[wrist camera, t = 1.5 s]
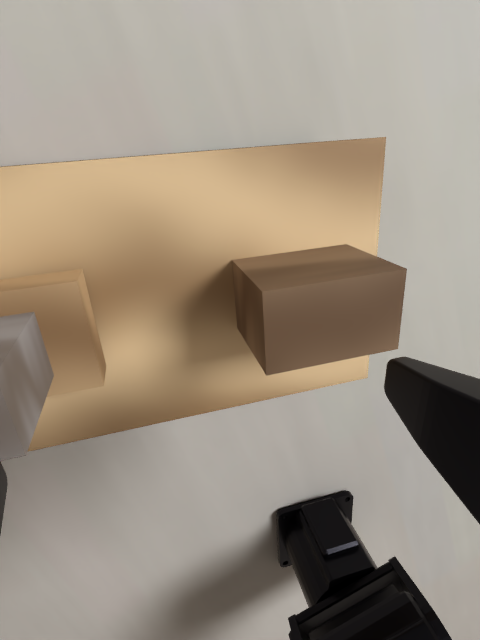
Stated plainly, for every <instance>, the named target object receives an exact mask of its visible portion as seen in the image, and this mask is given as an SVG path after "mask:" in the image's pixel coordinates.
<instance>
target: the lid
mask: <svg viewBox="0 0 480 640" xmlns="http://www.w3.org/2000/svg"><path fill="white" fill-rule="evenodd" d="M385 144H386V137H381V138H367V139H354V140H342V141H329V142H316V143H303V144H290V145H277V146H264V147H252V148H239V149H226V150H213V151H200V152H187V153H174V154H162V155H149V156H136V157H123V158H110V159H97V160H84V161H72V162H59V163H46V164H33V165H20V166H7V167H0V280H3V279H10V278H18V277H25V276H33V275H40V274H48V273H56V272H63V271H71V270H78V269H83V273H84V277H85V281H86V285H87V289H88V294H89V298H90V302H91V306H92V310H93V314H94V318H95V322H96V326H97V330H98V334H99V338H100V342H101V346H102V350H103V354H104V358H105V362H106V373H105V381H104V386H101V387H96V388H91V389H86V390H81V391H76V392H70V393H65V394H60V395H55V396H50V397H46V400H45V403H44V406H43V408H42V411H41V414H40V417H39V420H38V423H37V426H36V428H35V431H34V434H33V437H32V440H31V443H30V445H29V448H28V451H33V450H37V449H42V448H47V447H51V446H56V445H60V444H65V443H70V442H74V441H79V440H83V439H88V438H93V437H97V436H102V435H106V434H111V433H116V432H120V431H125V430H129V429H134V428H139V427H143V426H148V425H152V424H157V423H161V422H166V421H171V420H175V419H180V418H184V417H189V416H194V415H198V414H203V413H207V412H212V411H217V410H221V409H226V408H230V407H235V406H240V405H244V404H249V403H253V402H258V401H263V400H267V399H272V398H276V397H281V396H286V395H290V394H295V393H299V392H304V391H308V390H313V389H318V388H322V387H327V386H331V385H336V384H341V383H345V382H350V381H354V380H359V379H364V378H367V377H368V364H369V355H370V354H375V353H380V352H385V351H390V350H395V349H398V343H399V334H400V325H401V316H402V307H403V298H404V289H405V280H406V271H407V269H406V268H403V267H401V266H398V265H396V264H393V263H391V262H389V261H386V260H384V259H381V258H379V257H377V248H378V235H379V222H380V209H381V196H382V183H383V170H384V157H385ZM28 451H27V452H28Z"/></svg>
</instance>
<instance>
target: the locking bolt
mask: <svg viewBox="0 0 480 640" xmlns="http://www.w3.org/2000/svg"><path fill="white" fill-rule="evenodd" d="M105 373H106V362H105V358H104V354H103V350H102V346H101V342H100V338H99V334H98V330H97V326H96V322H95V318H94V314H93V310H92V306H91V302H90V298H89V294H88V289H87V285H86V281H85V277H84V273H83V269H78V270H71V271H63V272H56V273H48V274H40V275H33V276H25V277H18V278H10V279H3V280H0V461H3V460H7V459H12V458H16V457H21V456H25V455H26V454H27V451H28V448H29V445H30V443H31V440H32V437H33V434H34V431H35V428H36V426H37V423H38V420H39V417H40V414H41V411H42V408H43V406H44V403H45V400H46V397H50V396H55V395H60V394H65V393H70V392H76V391H81V390H86V389H91V388H96V387H101V386H104V381H105Z"/></svg>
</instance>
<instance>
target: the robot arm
mask: <svg viewBox="0 0 480 640" xmlns="http://www.w3.org/2000/svg"><path fill="white" fill-rule="evenodd" d="M384 389H385V394H386V396H387V398H388V399H389V401H390V402H391V404H392V406H393V407H394V409H395V410H396V412H397V413H398V415H399V417H400V418H401V420H402V421H403V423H404V424H405V426H406V428H407V429H408V431H409V432H410V434H411V435H412V437H413V439H414V440H415V441H416V443H417V444H418V446H419V447H420V449H421V450H422V451H423V453H424V454H425V455H426V457H427V458H428V459H429V460H430V462H431V463H432V464H433V465H434V467H435V468H436V469H437V471H438V472H439V473H440V474H441V476H442V477H443V478H444V479H445V481H446V482H447V483H448V485H449V486H450V487H451V488H452V490H453V491H454V492H455V493H456V495H457V496H458V497H459V499H460V500H461V501H462V502H463V504H464V505H465V506H466V507H467V509H468V510H469V511H470V513H471V514H472V515H473V516H474V518H475V519H476V520H477V521H478V523H479V524H480V379H478V378H475V377H471V376H468V375H465V374H461V373H458V372H455V371H451V370H448V369H445V368H441V367H438V366H435V365H431V364H428V363H425V362H421V361H418V360H415V359H412V358H408V357H400V358H395V359H391V360H390V361H389V362H388V363H387V369H386V377H385V384H384ZM6 492H7V476H6V473H5V471H4V468H3V466H2V464H1V462H0V534H1V527H2V520H3V513H4V506H5V499H6ZM352 507H353V496H352V494H351V493H350V492H349V491H344V492H341V493H337V494H334V495H330V496H326V497H323V498H319V499H316V500H312V501H309V502H305V503H301V504H298V505H294V506H291V507H287V508H284V509H281V510H279V511H278V512H277V515H276V516H277V539H278V560H279V563H280V566H281V567H287V566H290V565H292V566H293V568H294V571H295V574H296V576H297V579H298V581H299V584H300V586H301V589H302V591H303V594H304V596H305V599H306V602H307V604H308V607H309V608H308V609H306V610H304V611H302V612H301V613H299V614H297V615H295V614H294V615H292V616H291V617H289V618H288V620H289V624H290V628H291V631H290V633H289V638H290V640H452V639H451V637H450V636H449V634H448V632H447V631H446V629H445V627H444V626H443V624H442V623H441V621H440V619H439V618H438V616H437V615H436V613H435V612H434V610H433V609H432V607H431V606H430V605H429V603H428V602H427V600H426V599H425V598H424V596H423V595H422V593H421V592H420V591H419V589H418V588H417V586H416V585H415V584H414V582H413V581H412V579H411V578H410V577H409V575H408V574H407V573H406V571H405V570H404V568H403V567H402V566H401V564H400V563H399V561H398V560H397V559H396V557H393V558H391V559H389V560H388V561H389V562H387V563H386V564H384V565H382V566H380V567H379V568H377V566H376V565H375V563H374V561H373V560H372V558H371V556H370V554H369V553H368V551H367V549H366V548H365V546H364V544H363V543H362V541H361V539H360V538H359V536H358V534H357V533H356V531H355V529H354V528H353V526H352V524H351V522H352Z"/></svg>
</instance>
